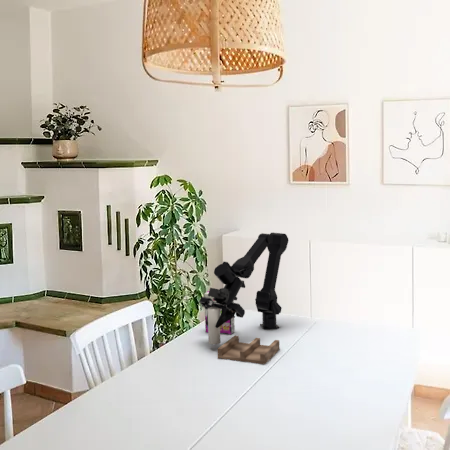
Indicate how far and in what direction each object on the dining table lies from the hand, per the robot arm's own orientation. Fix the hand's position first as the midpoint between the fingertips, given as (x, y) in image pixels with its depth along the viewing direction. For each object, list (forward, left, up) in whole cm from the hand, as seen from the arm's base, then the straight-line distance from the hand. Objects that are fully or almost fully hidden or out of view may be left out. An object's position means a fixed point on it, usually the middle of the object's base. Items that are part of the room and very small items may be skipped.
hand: (211, 326), depth 224 cm
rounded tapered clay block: (-1, +1, -7) cm, 7 cm away
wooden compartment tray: (+8, +12, -9) cm, 17 cm away
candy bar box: (-20, +7, -9) cm, 23 cm away
